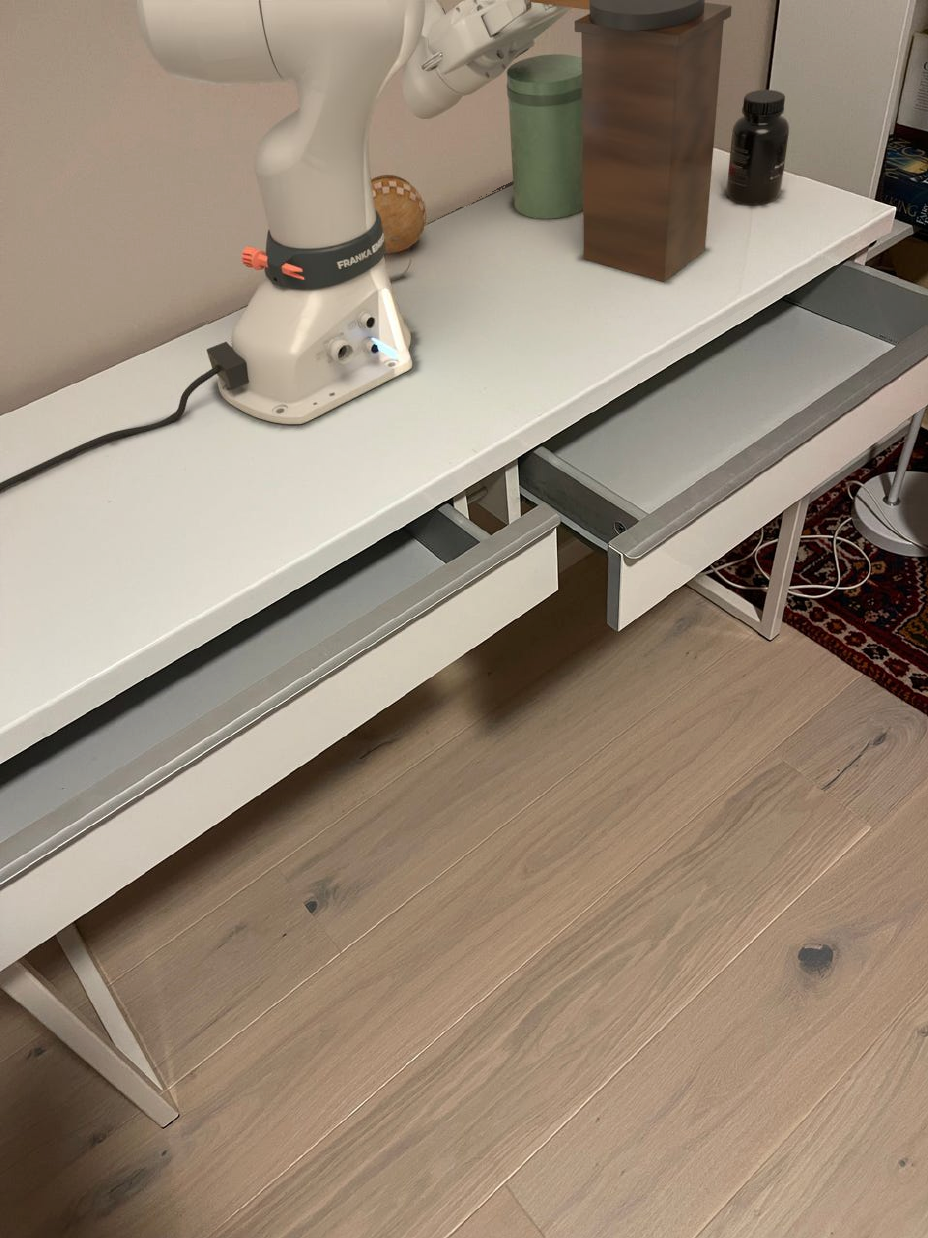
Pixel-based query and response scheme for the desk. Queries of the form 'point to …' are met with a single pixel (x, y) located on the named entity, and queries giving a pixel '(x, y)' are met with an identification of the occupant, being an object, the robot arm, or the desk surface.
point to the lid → (636, 12)
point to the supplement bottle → (758, 149)
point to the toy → (398, 212)
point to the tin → (546, 135)
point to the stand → (649, 141)
